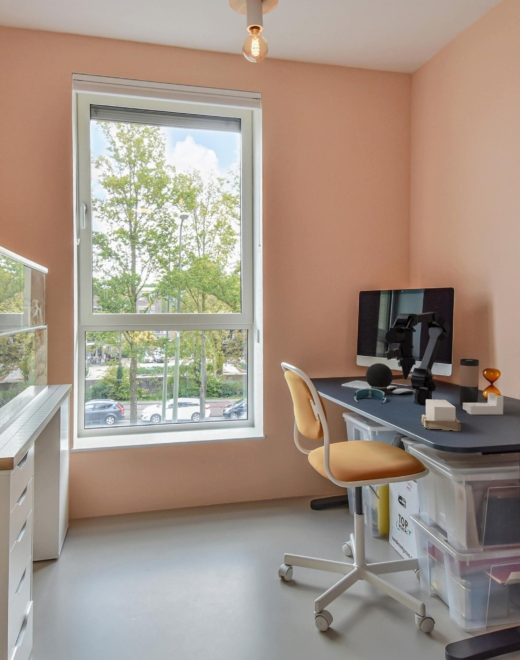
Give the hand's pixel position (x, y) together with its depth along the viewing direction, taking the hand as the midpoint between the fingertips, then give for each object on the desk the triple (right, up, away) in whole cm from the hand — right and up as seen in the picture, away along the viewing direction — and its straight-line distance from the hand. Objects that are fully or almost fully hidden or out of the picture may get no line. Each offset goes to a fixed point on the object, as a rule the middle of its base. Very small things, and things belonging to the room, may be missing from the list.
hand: (405, 379), depth 200 cm
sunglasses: (-11, -12, +16) cm, 23 cm away
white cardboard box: (+3, -13, -30) cm, 33 cm away
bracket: (+29, -13, -9) cm, 33 cm away
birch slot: (+2, -13, -33) cm, 35 cm away
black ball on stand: (-2, -11, +36) cm, 37 cm away
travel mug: (+30, -12, +6) cm, 32 cm away
